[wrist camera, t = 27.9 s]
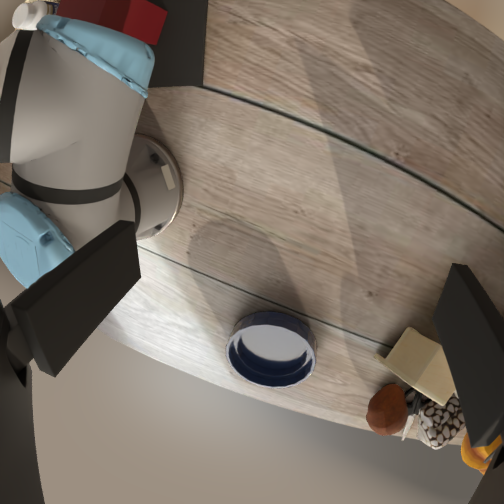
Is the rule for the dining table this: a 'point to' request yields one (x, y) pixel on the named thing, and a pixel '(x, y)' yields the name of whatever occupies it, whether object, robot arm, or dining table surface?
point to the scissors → (413, 408)
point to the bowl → (272, 350)
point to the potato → (387, 410)
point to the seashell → (440, 422)
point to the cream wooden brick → (421, 365)
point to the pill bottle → (33, 14)
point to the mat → (180, 44)
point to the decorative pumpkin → (478, 453)
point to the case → (118, 16)
